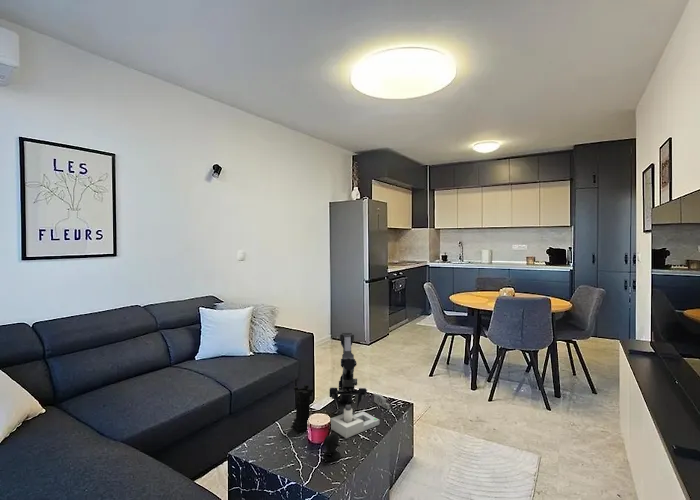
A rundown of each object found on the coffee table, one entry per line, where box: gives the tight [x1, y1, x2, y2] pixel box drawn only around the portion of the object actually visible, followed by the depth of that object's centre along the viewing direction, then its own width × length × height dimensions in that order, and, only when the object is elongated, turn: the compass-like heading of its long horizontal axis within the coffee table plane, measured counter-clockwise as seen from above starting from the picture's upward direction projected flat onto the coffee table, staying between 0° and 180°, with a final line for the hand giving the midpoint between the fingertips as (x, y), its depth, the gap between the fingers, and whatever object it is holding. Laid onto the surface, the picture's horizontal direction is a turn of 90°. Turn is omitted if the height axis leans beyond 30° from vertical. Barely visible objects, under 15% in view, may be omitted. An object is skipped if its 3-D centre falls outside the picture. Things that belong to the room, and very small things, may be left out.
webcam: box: [322, 432, 342, 463], centre depth 164 cm, size 8×8×10 cm
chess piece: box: [291, 384, 314, 435], centre depth 188 cm, size 8×8×20 cm
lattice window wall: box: [373, 392, 391, 410], centre depth 217 cm, size 12×2×6 cm, turn 37°
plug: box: [343, 403, 354, 423], centre depth 189 cm, size 4×4×12 cm
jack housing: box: [330, 411, 381, 439], centre depth 192 cm, size 12×22×5 cm, turn 131°
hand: (348, 409), depth 190 cm, fingers open, 9 cm apart
